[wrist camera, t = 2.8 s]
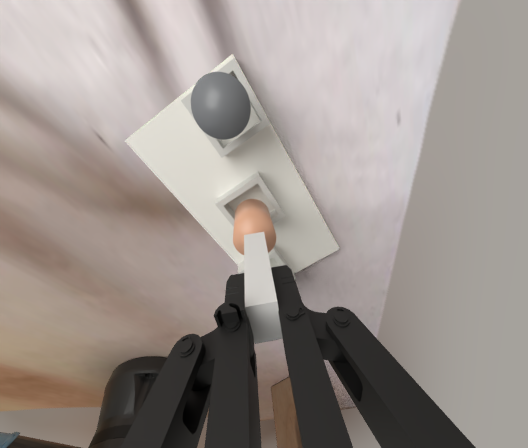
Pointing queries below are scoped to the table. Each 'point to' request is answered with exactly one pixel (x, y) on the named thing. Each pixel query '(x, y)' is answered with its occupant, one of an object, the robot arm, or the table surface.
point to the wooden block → (285, 416)
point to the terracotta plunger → (252, 223)
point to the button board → (234, 178)
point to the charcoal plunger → (220, 105)
